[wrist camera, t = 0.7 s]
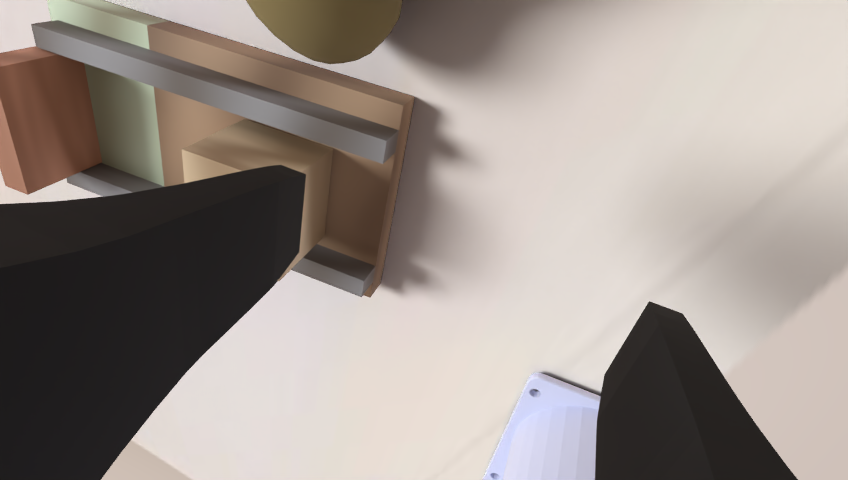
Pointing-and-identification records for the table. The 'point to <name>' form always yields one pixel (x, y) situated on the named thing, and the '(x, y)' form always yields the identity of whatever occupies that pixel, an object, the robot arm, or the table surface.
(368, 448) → the table surface
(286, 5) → the brown rounded lump
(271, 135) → the slider
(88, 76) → the track
